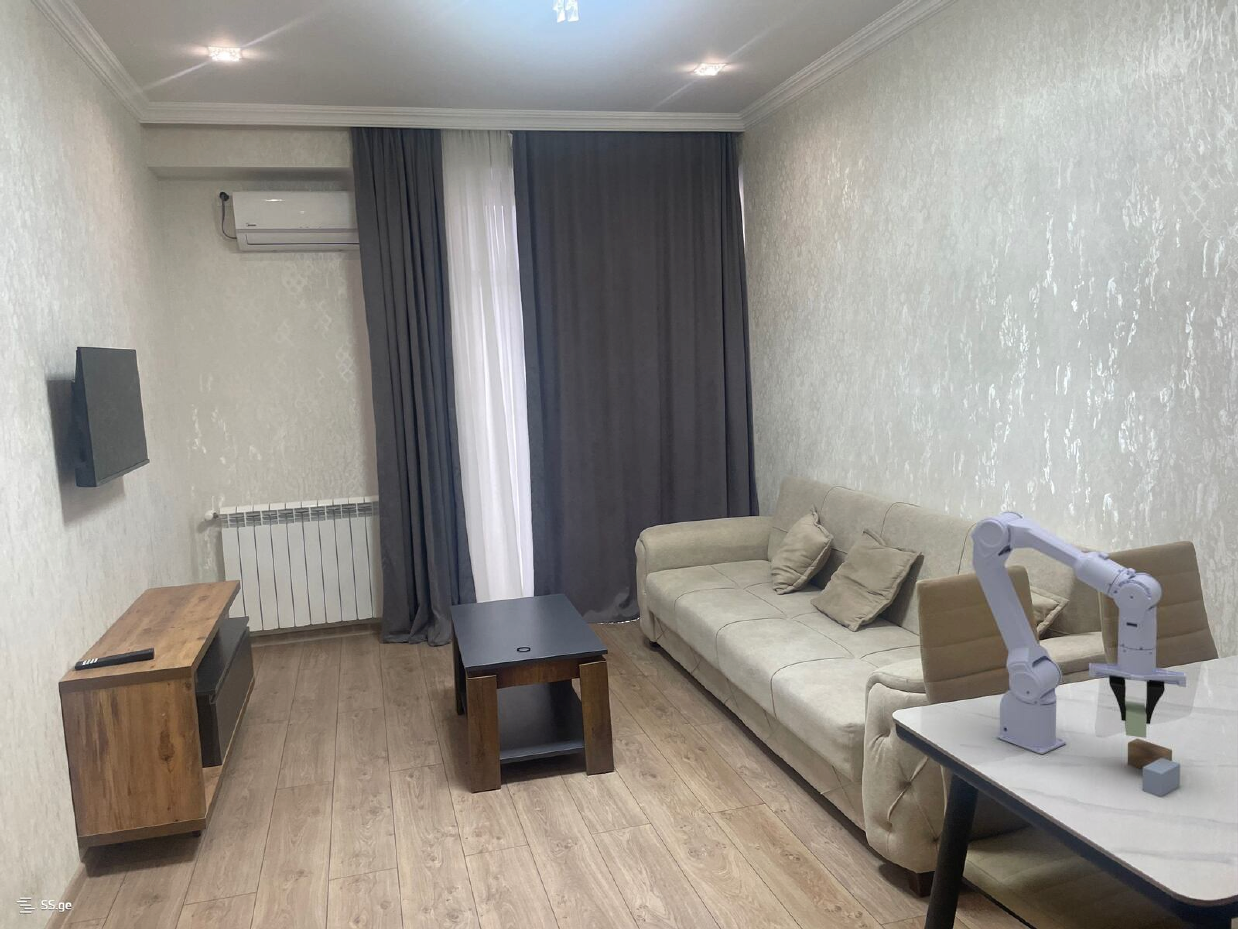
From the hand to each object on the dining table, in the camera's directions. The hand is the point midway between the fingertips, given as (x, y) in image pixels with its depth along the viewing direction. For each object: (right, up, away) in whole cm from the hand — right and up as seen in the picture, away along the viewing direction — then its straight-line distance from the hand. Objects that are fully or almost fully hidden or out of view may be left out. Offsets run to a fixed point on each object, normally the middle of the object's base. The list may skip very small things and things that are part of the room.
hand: (1135, 720), depth 156 cm
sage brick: (0, -2, 0) cm, 2 cm away
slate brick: (+1, -10, -6) cm, 11 cm away
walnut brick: (+3, -9, +2) cm, 10 cm away
